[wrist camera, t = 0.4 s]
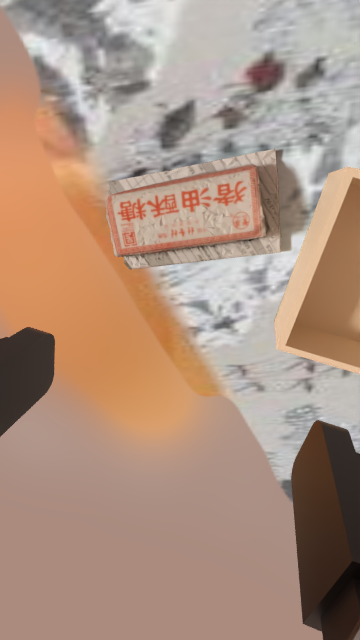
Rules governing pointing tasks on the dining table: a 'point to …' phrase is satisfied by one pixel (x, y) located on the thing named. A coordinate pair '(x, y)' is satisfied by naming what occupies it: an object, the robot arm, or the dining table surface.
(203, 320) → the dining table surface
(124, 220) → the packaged product
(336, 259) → the mailer box
